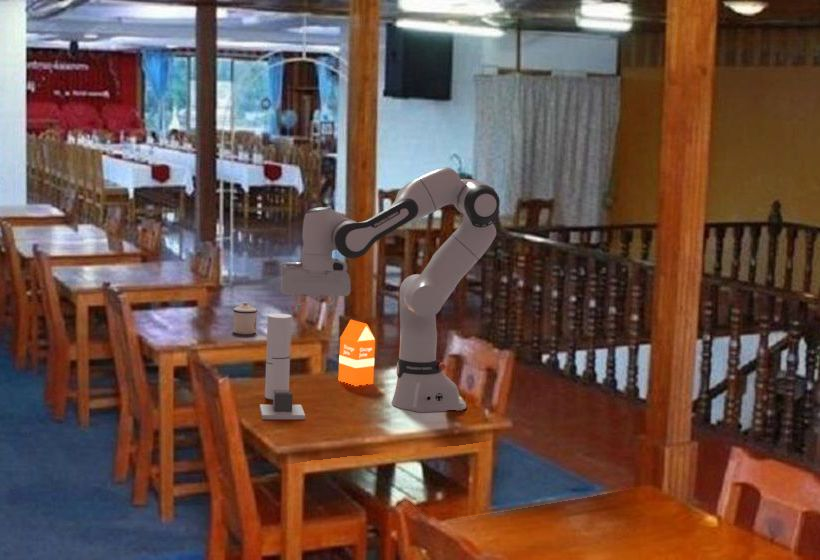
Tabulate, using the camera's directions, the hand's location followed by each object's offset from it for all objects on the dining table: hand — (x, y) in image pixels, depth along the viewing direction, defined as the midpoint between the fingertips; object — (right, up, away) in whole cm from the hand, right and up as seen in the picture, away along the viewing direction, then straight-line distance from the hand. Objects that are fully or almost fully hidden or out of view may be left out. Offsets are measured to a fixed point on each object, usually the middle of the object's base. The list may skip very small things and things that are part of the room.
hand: (314, 310), depth 350 cm
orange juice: (+10, -25, +40) cm, 48 cm away
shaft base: (-9, -30, -4) cm, 31 cm away
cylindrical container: (-13, -27, +15) cm, 33 cm away
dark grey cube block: (-9, -28, -4) cm, 30 cm away
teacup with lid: (-37, -11, +114) cm, 120 cm away
